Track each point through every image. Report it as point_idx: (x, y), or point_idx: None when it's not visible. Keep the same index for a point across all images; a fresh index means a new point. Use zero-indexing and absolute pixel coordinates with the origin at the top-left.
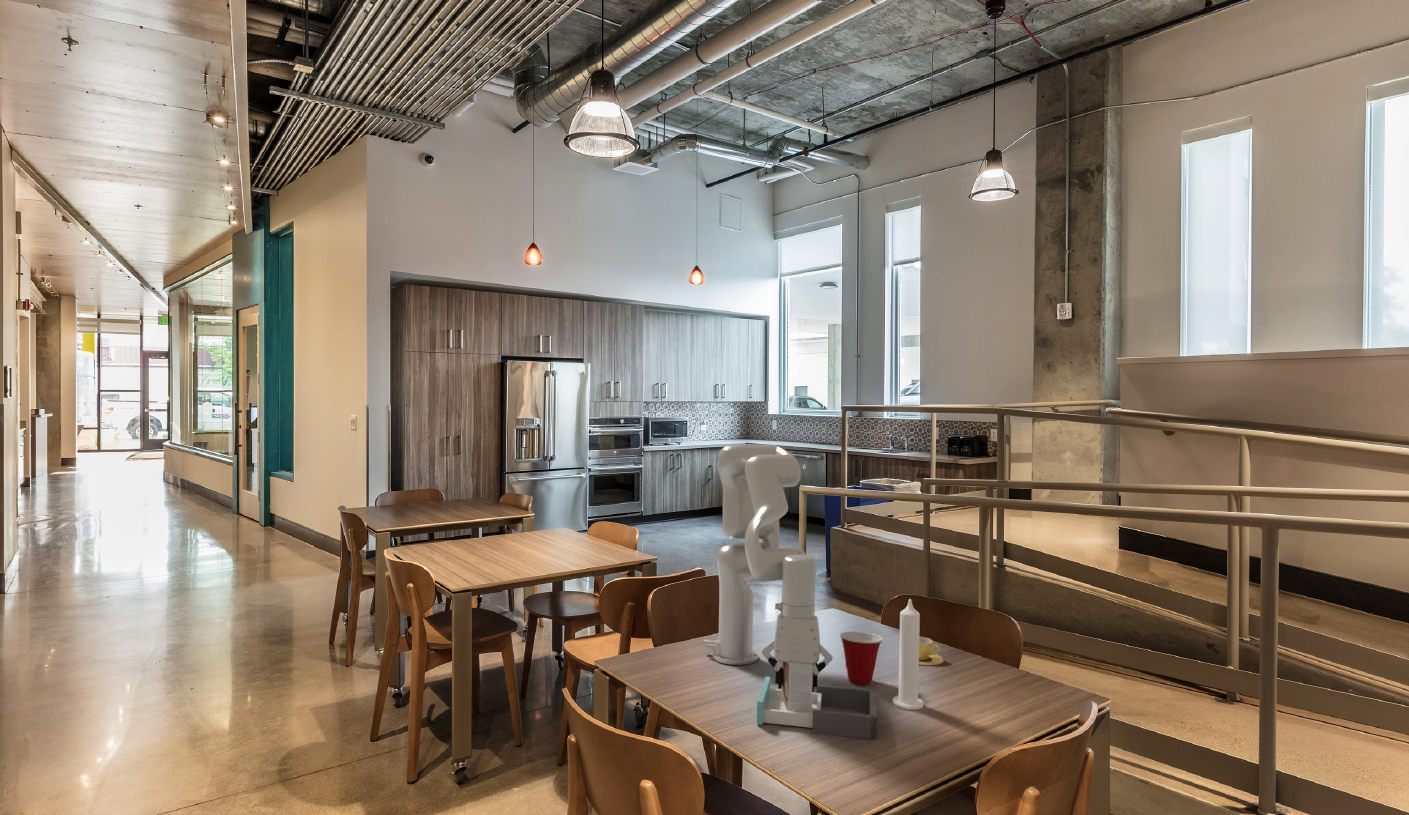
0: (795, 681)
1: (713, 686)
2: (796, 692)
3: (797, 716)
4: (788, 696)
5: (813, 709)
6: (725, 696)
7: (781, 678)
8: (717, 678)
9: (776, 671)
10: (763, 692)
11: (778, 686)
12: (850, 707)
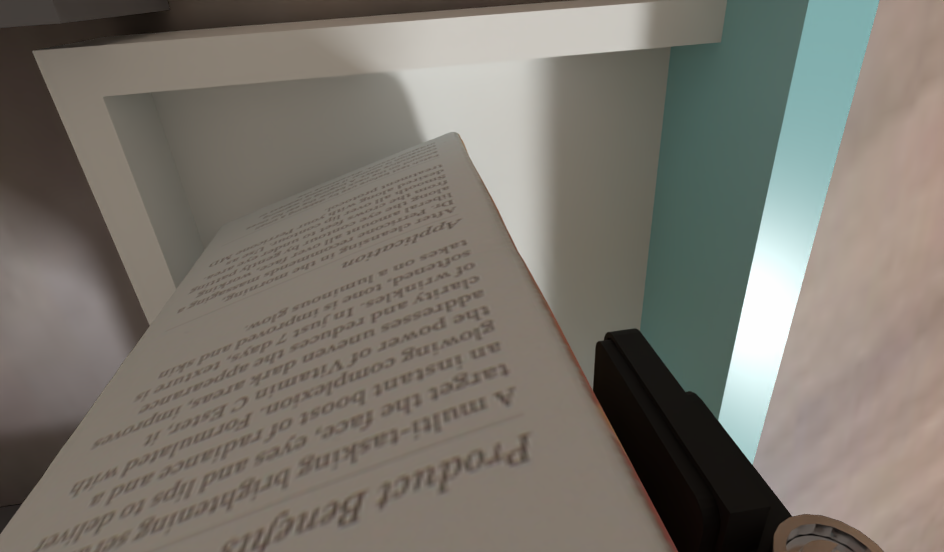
0: (385, 329)
1: (932, 448)
2: (365, 237)
3: (323, 25)
4: (476, 178)
5: (56, 22)
6: (888, 362)
7: (648, 442)
8: (892, 530)
9: (781, 523)
10: (779, 242)
11: (641, 341)
12: None
